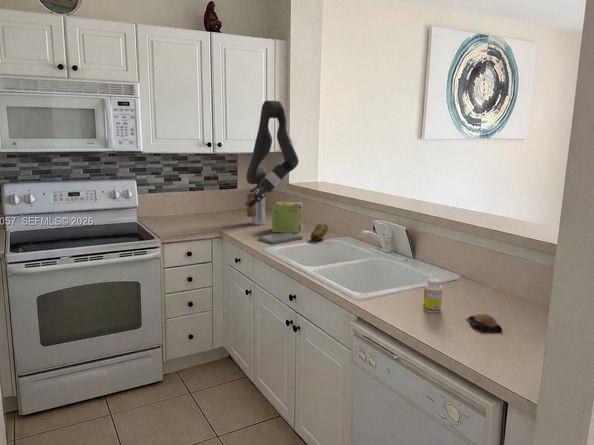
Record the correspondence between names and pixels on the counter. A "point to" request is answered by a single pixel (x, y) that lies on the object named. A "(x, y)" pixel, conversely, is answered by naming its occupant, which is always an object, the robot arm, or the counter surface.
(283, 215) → the protein box
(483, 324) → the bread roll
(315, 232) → the potato
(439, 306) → the supplement bottle
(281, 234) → the slate board
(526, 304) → the counter surface
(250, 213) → the walnut roller
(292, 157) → the robot arm
